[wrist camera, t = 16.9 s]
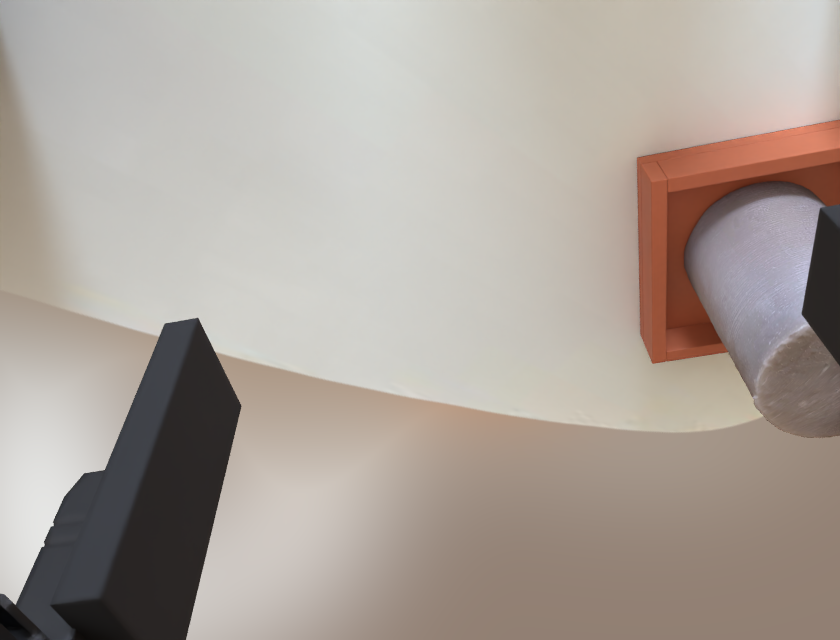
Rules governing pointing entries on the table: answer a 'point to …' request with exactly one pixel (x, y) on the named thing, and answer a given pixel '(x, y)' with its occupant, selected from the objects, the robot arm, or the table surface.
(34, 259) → the table surface
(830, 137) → the holder
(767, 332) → the pillar candle
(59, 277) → the table surface
